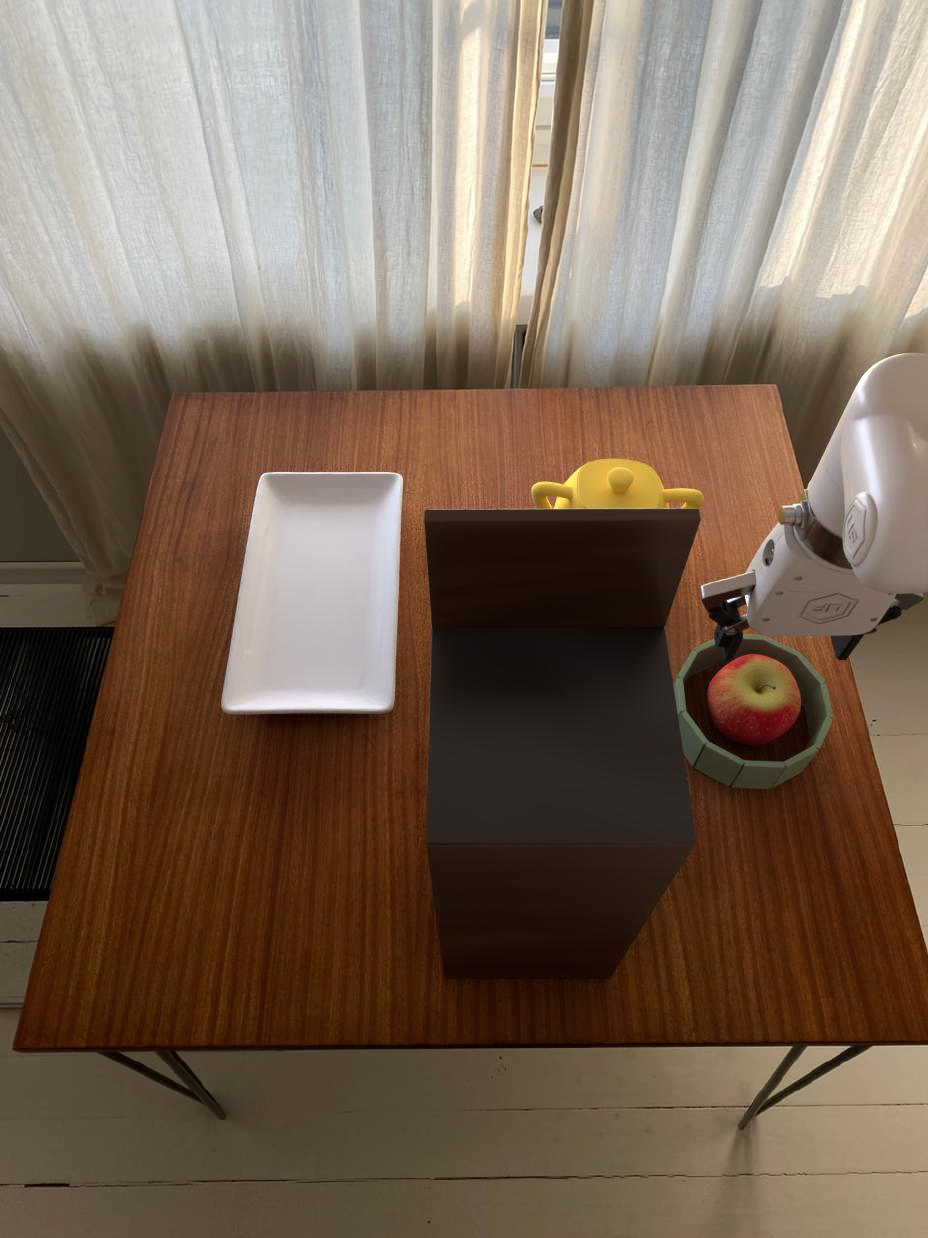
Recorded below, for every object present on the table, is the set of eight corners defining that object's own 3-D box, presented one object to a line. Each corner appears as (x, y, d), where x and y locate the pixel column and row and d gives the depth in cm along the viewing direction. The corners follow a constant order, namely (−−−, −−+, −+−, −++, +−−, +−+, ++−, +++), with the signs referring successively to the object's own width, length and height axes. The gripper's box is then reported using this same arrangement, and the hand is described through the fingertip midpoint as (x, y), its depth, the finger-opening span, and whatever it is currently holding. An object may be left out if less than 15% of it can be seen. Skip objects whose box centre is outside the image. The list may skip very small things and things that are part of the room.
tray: (406, 489, 104) (404, 468, 101) (396, 727, 86) (393, 711, 83) (264, 490, 104) (258, 470, 101) (226, 729, 86) (217, 713, 84)
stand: (610, 979, 73) (748, 761, 37) (443, 979, 73) (415, 762, 37) (596, 819, 81) (699, 507, 44) (446, 819, 81) (424, 508, 44)
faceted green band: (844, 749, 85) (863, 726, 81) (725, 813, 81) (739, 793, 77) (753, 639, 92) (767, 613, 88) (640, 694, 88) (648, 669, 84)
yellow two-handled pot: (515, 549, 99) (520, 477, 89) (601, 484, 104) (614, 409, 94) (607, 624, 93) (623, 556, 83) (693, 551, 98) (717, 479, 88)
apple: (709, 763, 84) (735, 716, 76) (690, 686, 89) (712, 633, 80) (793, 757, 84) (828, 709, 76) (769, 681, 89) (800, 627, 81)
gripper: (738, 563, 59) (686, 684, 73) (995, 562, 59) (892, 684, 73) (720, 479, 63) (674, 610, 77) (961, 478, 63) (869, 609, 77)
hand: (780, 646), depth 75 cm, fingers open, 9 cm apart
